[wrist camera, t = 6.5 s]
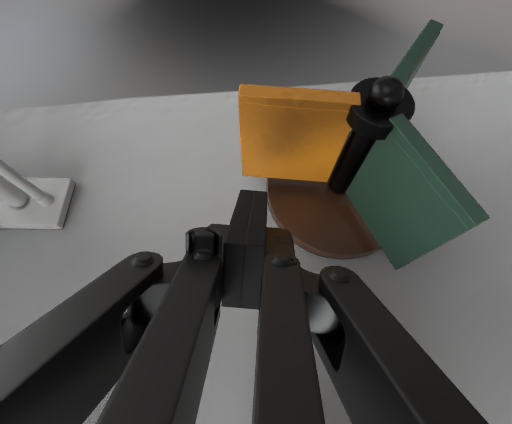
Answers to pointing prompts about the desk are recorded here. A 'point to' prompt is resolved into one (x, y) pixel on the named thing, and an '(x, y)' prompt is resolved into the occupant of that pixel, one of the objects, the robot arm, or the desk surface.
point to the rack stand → (320, 218)
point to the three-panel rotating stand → (362, 154)
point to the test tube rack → (33, 200)
